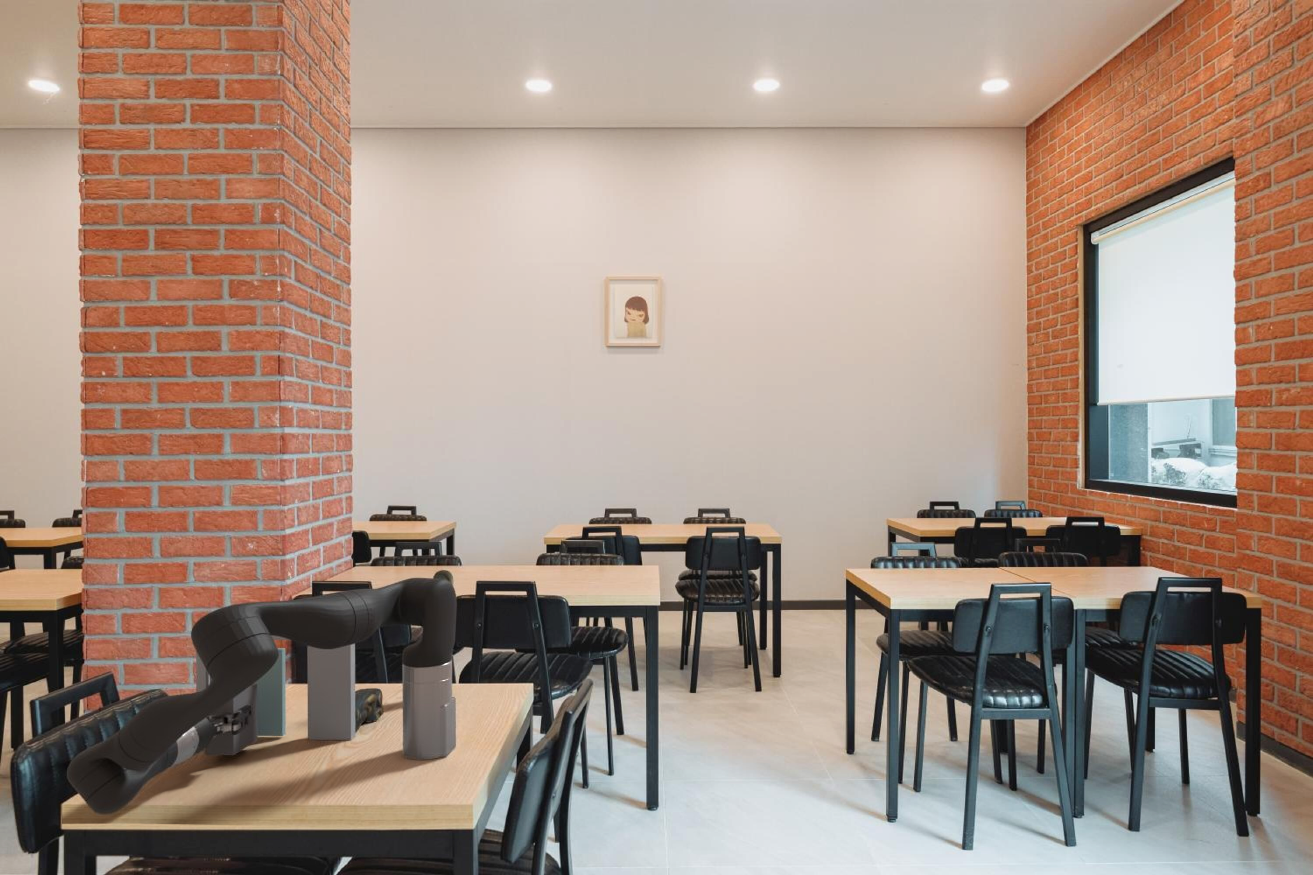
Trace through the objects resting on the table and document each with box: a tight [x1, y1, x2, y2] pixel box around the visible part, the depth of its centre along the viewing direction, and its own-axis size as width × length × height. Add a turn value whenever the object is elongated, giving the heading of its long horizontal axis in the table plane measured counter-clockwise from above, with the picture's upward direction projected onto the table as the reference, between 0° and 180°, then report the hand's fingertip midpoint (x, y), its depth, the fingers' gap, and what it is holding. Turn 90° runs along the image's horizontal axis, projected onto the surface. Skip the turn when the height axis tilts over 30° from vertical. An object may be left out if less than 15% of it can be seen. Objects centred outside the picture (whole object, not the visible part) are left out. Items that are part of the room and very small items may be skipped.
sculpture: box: [355, 687, 384, 734], centre depth 173 cm, size 13×6×7 cm, turn 2°
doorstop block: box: [204, 684, 258, 756], centre depth 155 cm, size 6×8×11 cm
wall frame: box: [195, 635, 356, 741], centre depth 165 cm, size 32×2×22 cm, turn 86°
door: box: [210, 647, 287, 737], centre depth 166 cm, size 16×2×18 cm, turn 86°
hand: (233, 710), depth 156 cm, fingers closed on doorstop block, 5 cm apart
